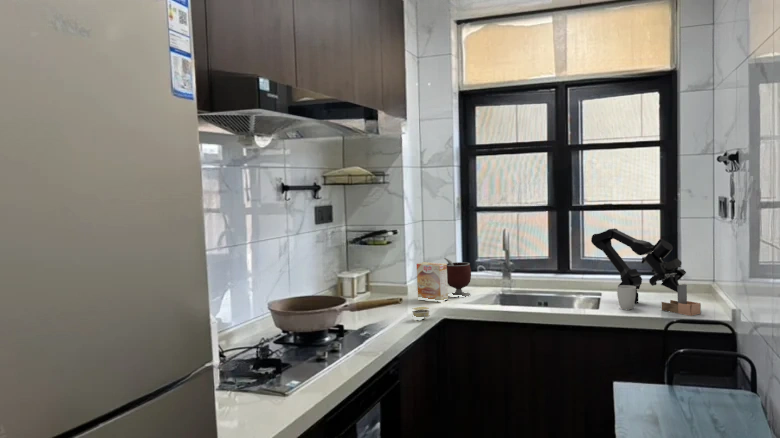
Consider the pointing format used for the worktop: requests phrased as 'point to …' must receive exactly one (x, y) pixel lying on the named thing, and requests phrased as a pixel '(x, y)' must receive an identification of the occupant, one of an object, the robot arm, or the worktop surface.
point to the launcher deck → (670, 306)
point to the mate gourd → (458, 276)
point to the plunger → (682, 293)
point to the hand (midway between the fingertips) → (680, 292)
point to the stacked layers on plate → (421, 312)
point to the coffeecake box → (432, 280)
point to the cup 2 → (689, 308)
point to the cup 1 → (626, 296)
